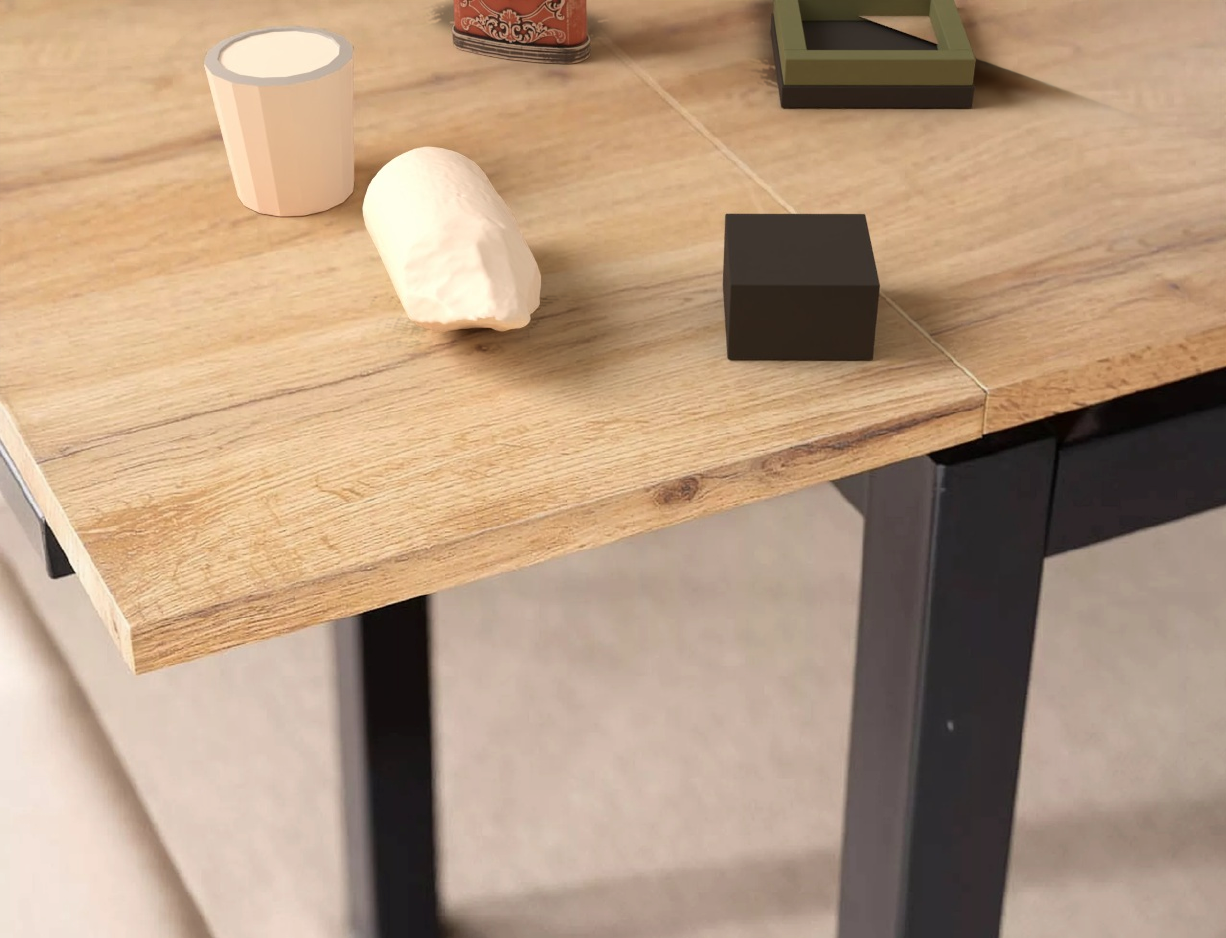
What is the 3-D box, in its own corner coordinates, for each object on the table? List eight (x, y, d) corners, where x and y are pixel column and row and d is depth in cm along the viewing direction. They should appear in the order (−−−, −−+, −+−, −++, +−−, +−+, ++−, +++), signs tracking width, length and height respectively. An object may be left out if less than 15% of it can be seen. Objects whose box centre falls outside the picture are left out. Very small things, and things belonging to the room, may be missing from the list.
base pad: (946, 32, 99) (951, -14, 98) (972, 108, 91) (978, 59, 90) (770, 32, 99) (772, -14, 98) (780, 108, 91) (783, 59, 90)
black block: (858, 285, 77) (865, 213, 75) (872, 360, 72) (880, 284, 70) (722, 285, 77) (725, 212, 75) (727, 359, 72) (730, 284, 70)
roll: (429, 408, 69) (418, 287, 66) (366, 265, 79) (354, 151, 75) (573, 381, 71) (570, 261, 68) (495, 243, 80) (489, 131, 77)
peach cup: (231, 231, 81) (210, 91, 77) (218, 166, 86) (197, 31, 82) (378, 211, 83) (364, 73, 78) (356, 148, 88) (342, 15, 84)
